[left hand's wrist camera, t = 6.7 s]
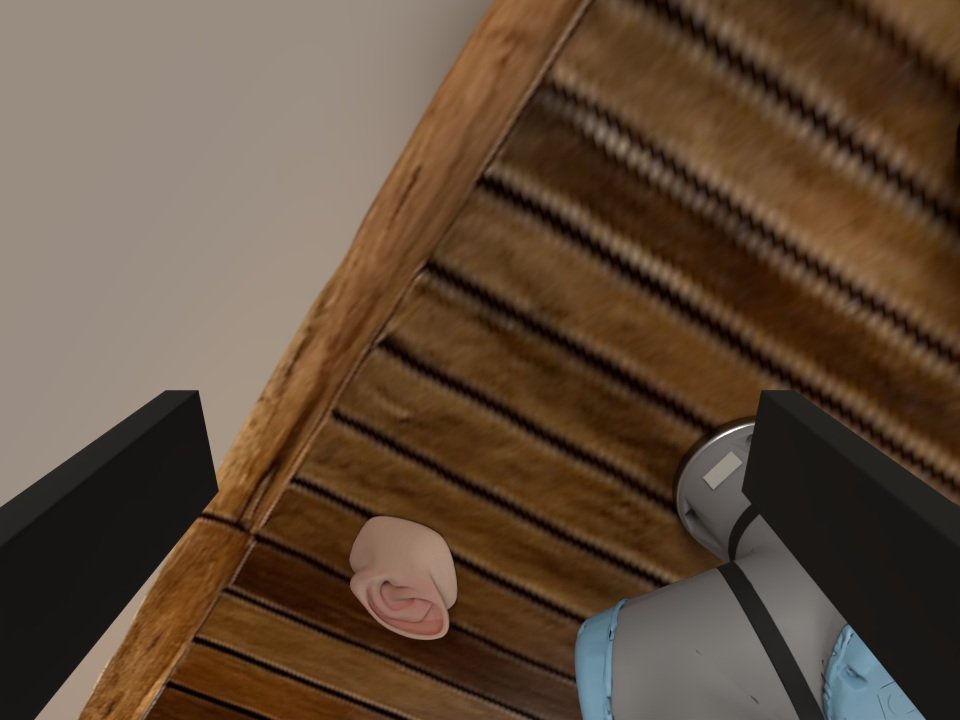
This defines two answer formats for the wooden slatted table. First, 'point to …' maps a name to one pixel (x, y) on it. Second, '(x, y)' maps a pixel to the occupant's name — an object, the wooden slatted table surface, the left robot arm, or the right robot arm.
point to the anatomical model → (404, 576)
